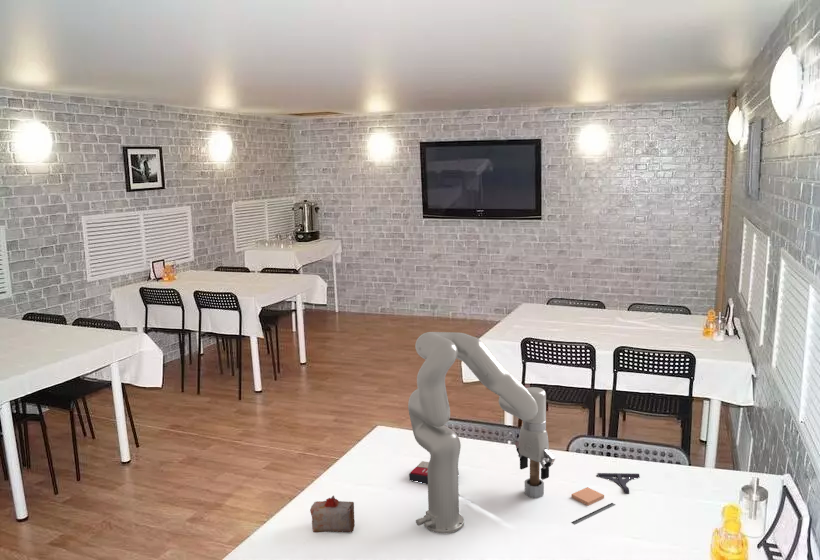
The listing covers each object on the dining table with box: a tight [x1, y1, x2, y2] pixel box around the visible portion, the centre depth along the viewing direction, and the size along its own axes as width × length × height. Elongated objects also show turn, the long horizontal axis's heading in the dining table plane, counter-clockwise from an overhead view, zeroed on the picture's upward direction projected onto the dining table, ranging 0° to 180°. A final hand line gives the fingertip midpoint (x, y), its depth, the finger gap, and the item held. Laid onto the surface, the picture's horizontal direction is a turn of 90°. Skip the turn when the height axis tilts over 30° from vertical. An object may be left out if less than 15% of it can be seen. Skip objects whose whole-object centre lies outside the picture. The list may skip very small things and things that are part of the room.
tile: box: [571, 487, 605, 506], centre depth 214 cm, size 2×7×8 cm
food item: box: [309, 495, 356, 534], centre depth 201 cm, size 14×8×10 cm, turn 85°
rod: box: [529, 459, 541, 486], centre depth 217 cm, size 3×3×14 cm
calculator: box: [408, 460, 460, 485], centre depth 233 cm, size 11×4×15 cm
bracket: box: [596, 472, 640, 495], centre depth 224 cm, size 14×15×3 cm
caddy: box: [524, 477, 545, 499], centre depth 218 cm, size 6×6×5 cm
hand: (534, 473), depth 217 cm, fingers open, 9 cm apart
